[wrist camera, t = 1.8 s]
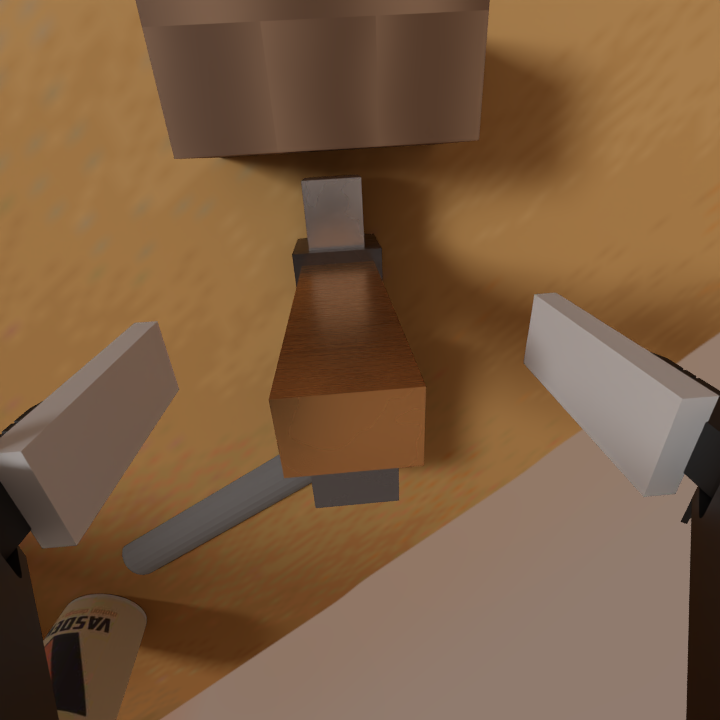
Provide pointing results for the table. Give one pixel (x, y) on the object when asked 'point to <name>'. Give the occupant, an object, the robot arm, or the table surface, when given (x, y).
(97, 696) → the coffee cup
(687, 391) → the robot arm
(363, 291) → the sliding bar
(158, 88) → the walnut socket
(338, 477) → the dark grey block
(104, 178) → the table surface
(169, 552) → the half round rod
